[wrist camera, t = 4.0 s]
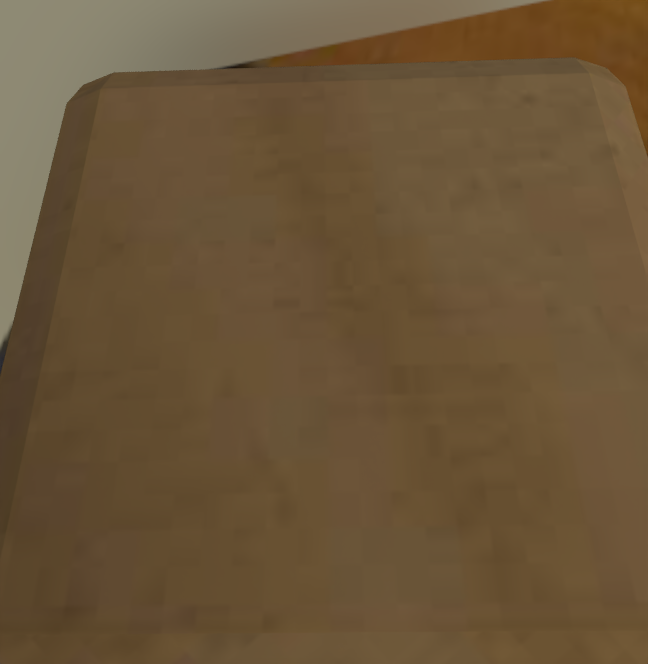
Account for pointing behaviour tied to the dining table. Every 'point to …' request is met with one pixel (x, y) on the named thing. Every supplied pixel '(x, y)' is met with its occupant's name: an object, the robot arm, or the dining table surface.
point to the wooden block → (333, 372)
